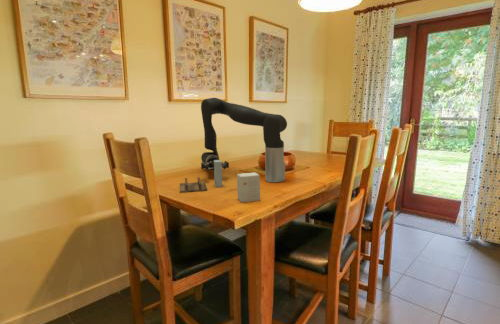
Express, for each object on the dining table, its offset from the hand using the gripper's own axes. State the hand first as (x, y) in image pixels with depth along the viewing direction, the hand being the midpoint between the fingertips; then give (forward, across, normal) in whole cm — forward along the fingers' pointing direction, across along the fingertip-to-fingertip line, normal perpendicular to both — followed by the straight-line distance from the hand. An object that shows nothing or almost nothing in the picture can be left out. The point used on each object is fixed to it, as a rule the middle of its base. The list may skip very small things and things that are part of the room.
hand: (216, 167), depth 145 cm
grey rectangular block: (+7, 0, +8) cm, 10 cm away
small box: (+33, +9, +8) cm, 35 cm away
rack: (+8, -12, +8) cm, 16 cm away
